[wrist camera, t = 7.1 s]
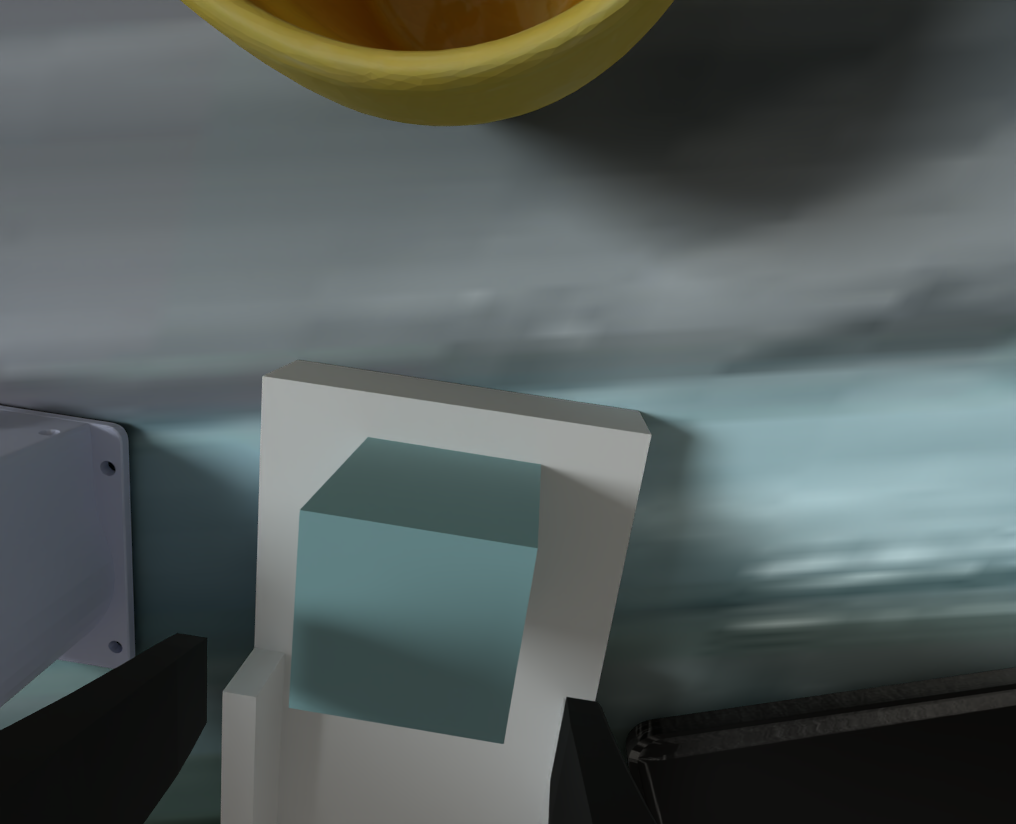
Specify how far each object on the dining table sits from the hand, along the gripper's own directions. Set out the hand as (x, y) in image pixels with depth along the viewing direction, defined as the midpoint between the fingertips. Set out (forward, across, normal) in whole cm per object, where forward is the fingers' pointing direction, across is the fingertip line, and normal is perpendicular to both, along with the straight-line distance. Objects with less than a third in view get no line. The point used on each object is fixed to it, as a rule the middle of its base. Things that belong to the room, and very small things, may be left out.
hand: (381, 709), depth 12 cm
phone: (+10, -16, +8) cm, 20 cm away
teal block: (+7, 0, -1) cm, 7 cm away
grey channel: (+9, 0, +6) cm, 11 cm away
